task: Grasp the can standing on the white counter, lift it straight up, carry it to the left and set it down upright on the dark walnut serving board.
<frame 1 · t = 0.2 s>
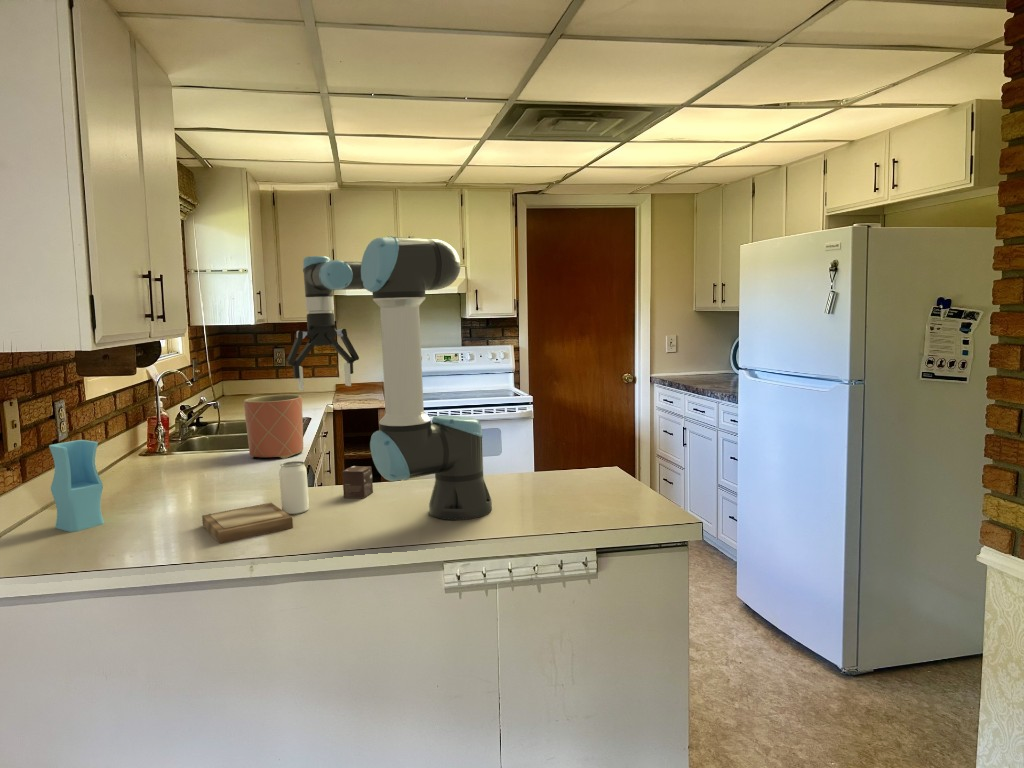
hand: (325, 387, 196), 28 cm above the countertop, fingers open, 13 cm apart
planter: (277, 455, 242), on the countertop
board: (247, 526, 161), on the countertop
vase: (81, 526, 166), on the countertop
can: (295, 511, 172), on the countertop
box: (358, 496, 185), on the countertop
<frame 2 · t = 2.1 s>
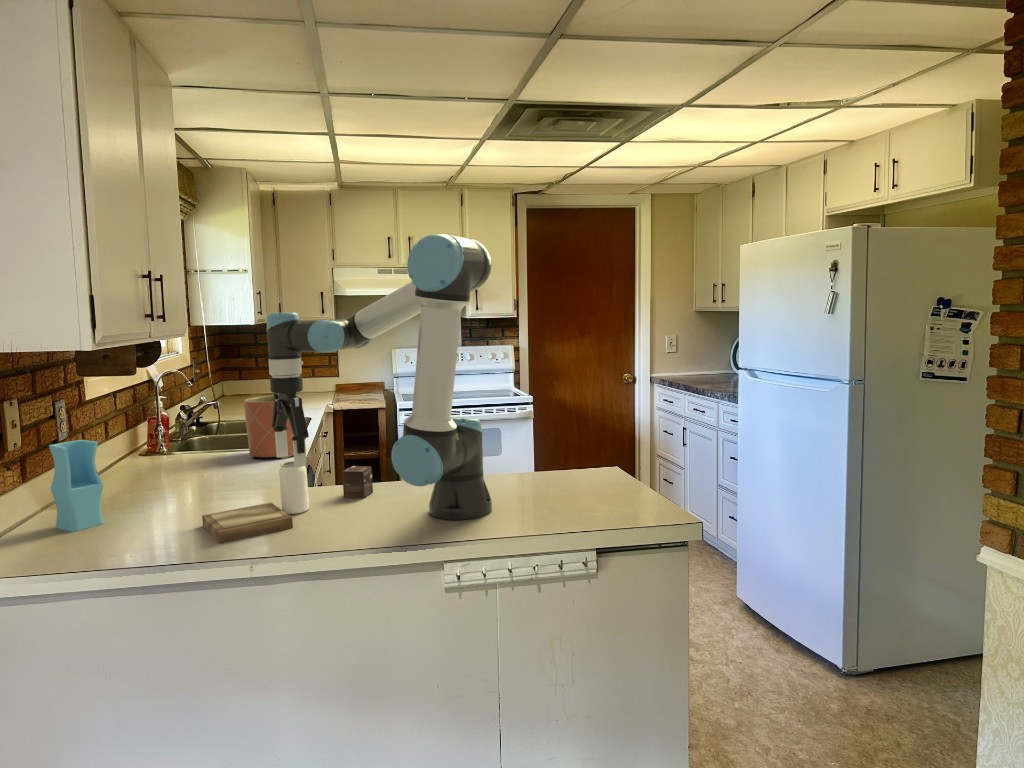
hand: (291, 461, 171), 13 cm above the countertop, fingers open, 13 cm apart
nothing on the countertop moved.
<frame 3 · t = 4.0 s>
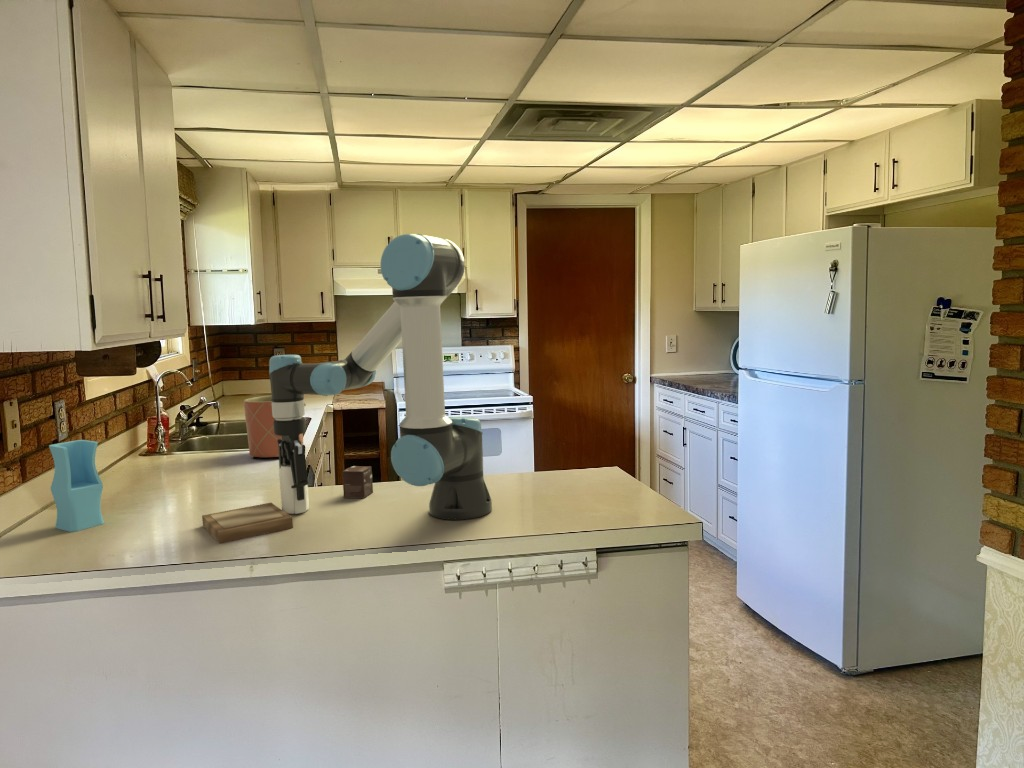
hand: (295, 509, 172), 0 cm above the countertop, fingers closed on can, 6 cm apart
can: (295, 511, 172), on the countertop, touching gripper
everything else where it was.
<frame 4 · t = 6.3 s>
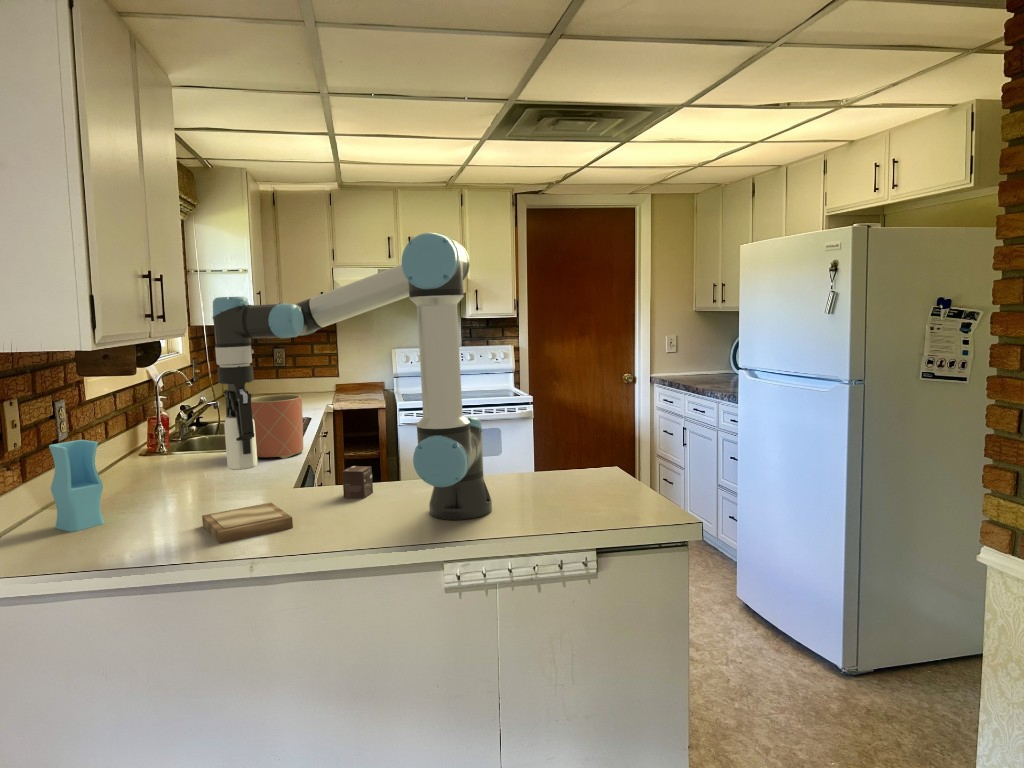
hand: (242, 465, 159), 15 cm above the countertop, fingers closed on can, 6 cm apart
can: (242, 467, 159), point 14 cm above the countertop, touching gripper
everything else where it was.
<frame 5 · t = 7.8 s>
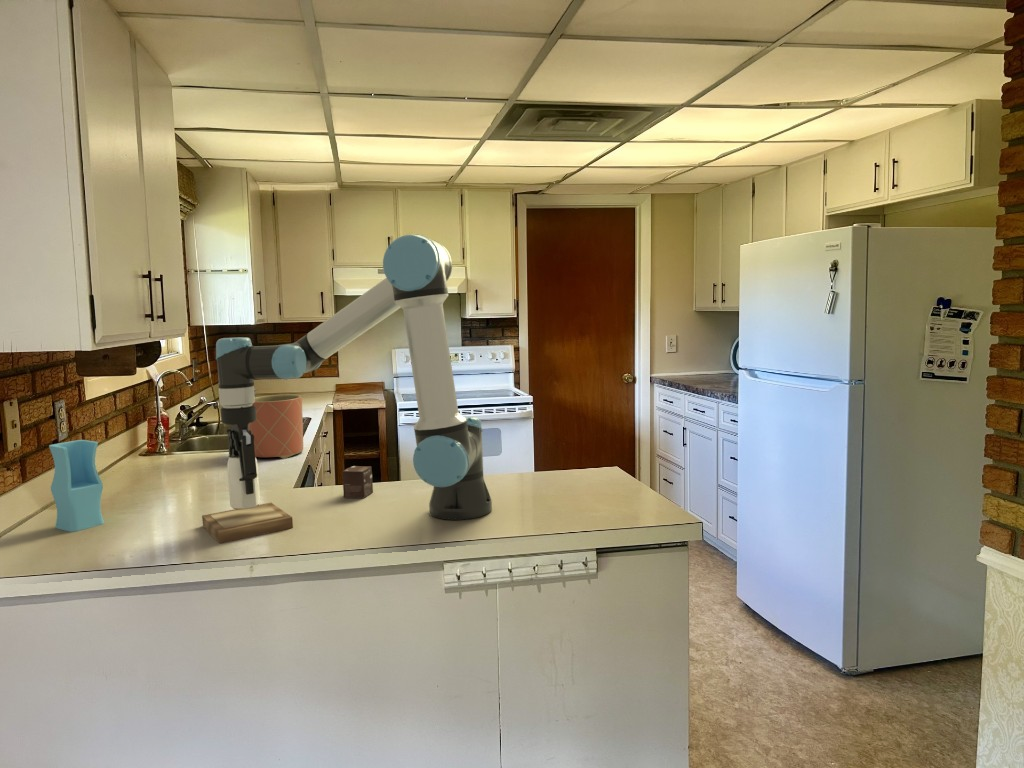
hand: (245, 503, 160), 5 cm above the countertop, fingers closed on can, 6 cm apart
can: (245, 506, 160), point 5 cm above the countertop, touching gripper
everything else where it was.
when the fingers open (4 cm above the countertop, at t = 8.8 s): can drops 1 cm, resting on board.
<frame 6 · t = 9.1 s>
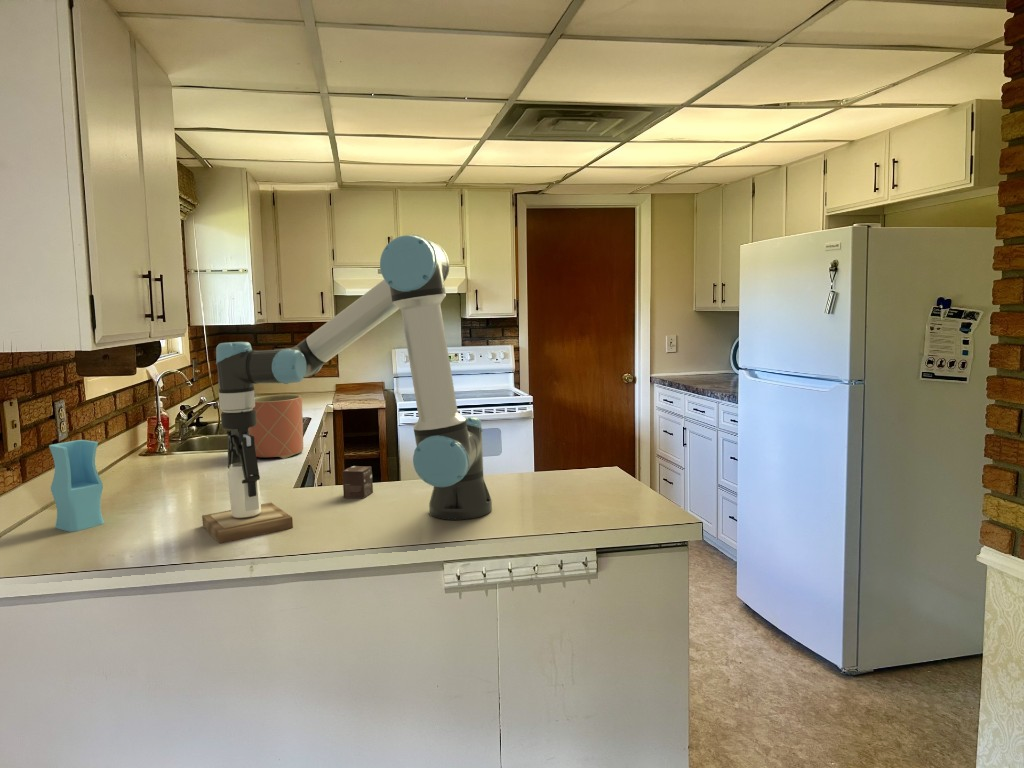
hand: (245, 504, 160), 5 cm above the countertop, fingers open, 10 cm apart
can: (246, 515, 161), point 3 cm above the countertop, touching board
everything else where it was.
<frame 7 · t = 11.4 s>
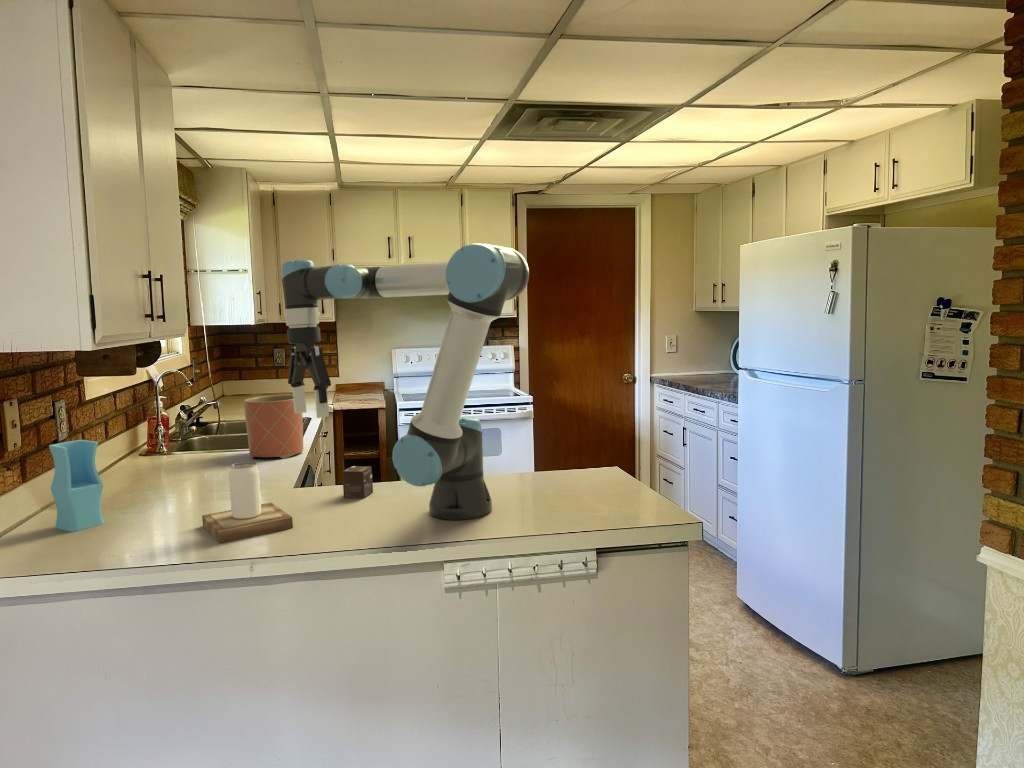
hand: (311, 415, 167), 24 cm above the countertop, fingers open, 13 cm apart
nothing on the countertop moved.
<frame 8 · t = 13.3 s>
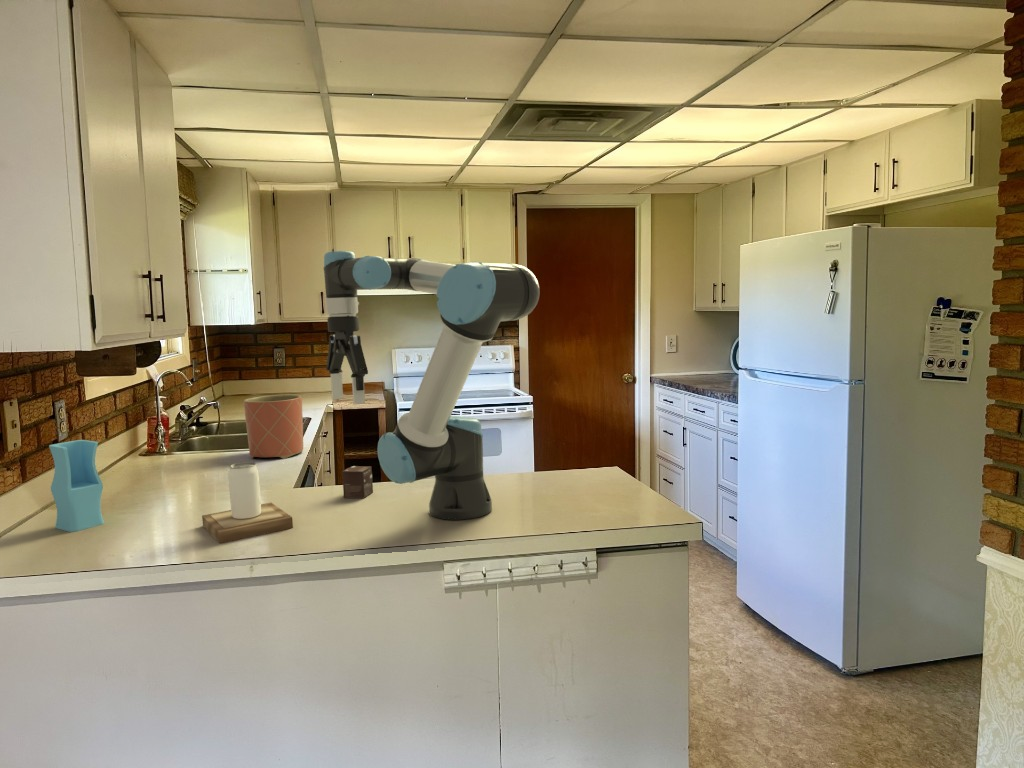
hand: (348, 401, 172), 27 cm above the countertop, fingers open, 13 cm apart
nothing on the countertop moved.
at the end: can inside the target area on the board (0.1 cm from its centre), point 2.5 cm above the board's base; can tilted 0°; the gripper is holding nothing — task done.
